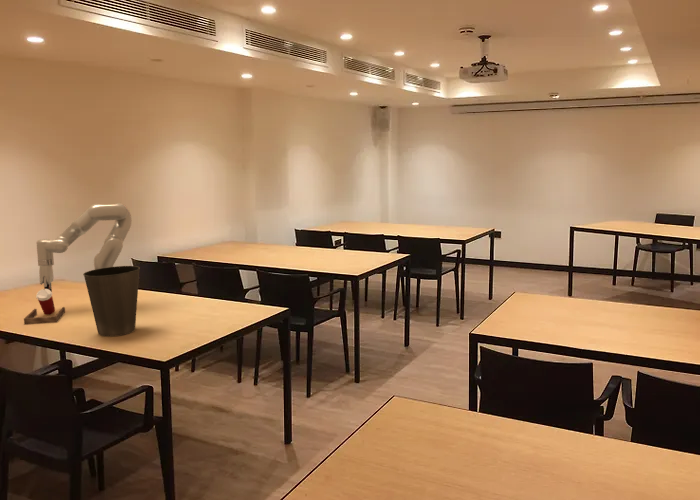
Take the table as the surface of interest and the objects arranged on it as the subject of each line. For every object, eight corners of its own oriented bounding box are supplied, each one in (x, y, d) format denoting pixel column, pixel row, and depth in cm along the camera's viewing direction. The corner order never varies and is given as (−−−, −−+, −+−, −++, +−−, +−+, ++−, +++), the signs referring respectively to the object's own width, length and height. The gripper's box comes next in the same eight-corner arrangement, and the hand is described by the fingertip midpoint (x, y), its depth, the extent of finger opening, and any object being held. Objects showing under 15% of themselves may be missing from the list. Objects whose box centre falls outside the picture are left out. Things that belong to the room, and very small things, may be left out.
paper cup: (60, 309, 324) (55, 292, 314) (48, 318, 318) (43, 301, 309) (49, 303, 326) (44, 285, 316) (38, 312, 320) (32, 294, 311)
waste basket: (104, 342, 272) (99, 277, 267) (77, 335, 283) (73, 272, 278) (153, 328, 294) (149, 268, 290) (126, 322, 305) (123, 264, 301)
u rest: (65, 312, 326) (64, 307, 325) (56, 322, 306) (56, 316, 305) (34, 314, 322) (34, 308, 322) (24, 324, 302) (23, 318, 301)
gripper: (41, 260, 326) (44, 293, 328) (34, 265, 311) (37, 299, 314) (56, 260, 328) (59, 292, 330) (50, 264, 313) (52, 298, 316)
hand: (48, 296), depth 322 cm, fingers closed
